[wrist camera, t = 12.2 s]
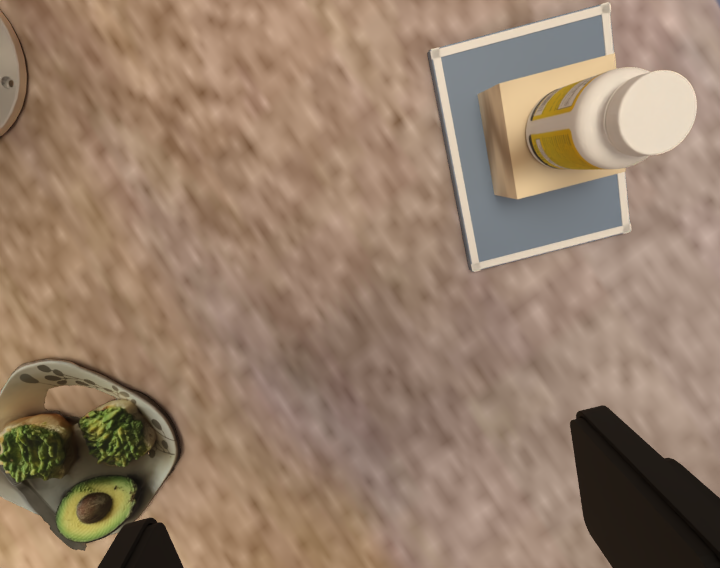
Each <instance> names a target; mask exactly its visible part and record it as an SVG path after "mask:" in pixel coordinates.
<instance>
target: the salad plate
mask: <svg viewBox="0 0 720 568" xmlns="http://www.w3.org/2000/svg"><path fill="white" fill-rule="evenodd" d="M64 385H68V386H70V385H80V386H86V387H89V388H95V389H97V390H100V391H102V392H104V393H107V394H109V395H111V396H113V397H115V398H116V400H114V401H110V402H108V403H106V404H104V405H102V406H100V407H98V408H96V409H95V410H93V411H91V412H89V413H88V414H86V415H85V416H83V417H80V418H78V417H66V416H62V415H61V413H60V412H59V411H48V410H47V409H45V406H44V403H45V397H46V394H47V391H48V389H50V388H54V387H58V386H64ZM148 452H149V455H148ZM180 454H181V448H180V443H179V438H178V435H177V432H176V429H175V426H174V425H173V423H172V421H171V420H170V418H169V417H168V415H167V414H166V413H165V412H164V411H163V410H162V409H161V408H160V407H159V406H158V405H157V404H156V403H155V402H154V401H152V400H151V399H150V398H148V397H147V396H146V395H144V394H142V393H140V392H137V391H133V390H130V389H128V388H126V387H124V386H122V385H120V384H118V383H116V382H115V381H113V380H111V379H109V378H108V377H106V376H104V375H102V374H99V373H97V372H94V371H91V370H89V369H86V368H83V367H80V366H78V365H76V364H75V363H73V362H70V361H65V360H55V359H44V360H38V361H34V362H30V363H25V364H22V365H20V366H19V367H18V368H17V369H16V370H15V371H14V372H13V373H12V375H11V377H10V378H9V380H8V381H7V383H6V384H5V386H4V387H3V389H2V390H1V393H0V497H2V498H4V499H5V500H8V501H10V502H12V503H14V504H16V505H18V506H21V507H23V508H25V509H27V510H29V511H31V512H33V513H35V514H38V515H40V516H41V517H42V518H43V519H44V521H45V522H47V523H48V524H49V525H50V530H52V531H53V533H54V534H55V535H56V536H57V537H58V538H59V539H61V540H62V541H63V542H64V543H65V544H66V545H67V546H69V547H70V548H72V549H75V550H78V549H79V550H84V551H85V549H86V543H89V542H92V541H96V540H99V539H102V538H105V537H106V536H108V535H112V534H115V533H118V532H119V531H120V530H121V528H122V527H123V526H124V525H125V524H127V523H131V522H134V521H135V520H136V519H137V518H138V517H139V516H140V515H141V514H142V512H143V511H144V510H145V508H146V507H147V506H148V504H149V503H150V501H151V500H152V498H153V497H154V495H155V494H156V492H157V491H158V489H159V488H160V487H161V485H162V484H163V482H164V481H165V479H166V478H167V477H168V476H169V475H170V474H171V472H172V471H173V470H174V467H175V465H176V463H177V462H178V460H179V458H180Z"/></svg>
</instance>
